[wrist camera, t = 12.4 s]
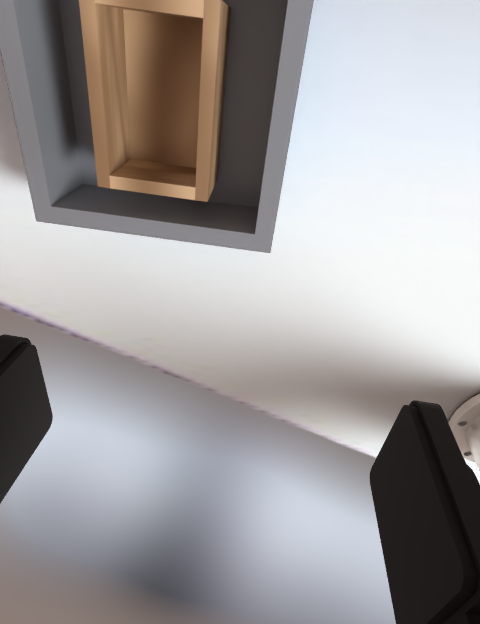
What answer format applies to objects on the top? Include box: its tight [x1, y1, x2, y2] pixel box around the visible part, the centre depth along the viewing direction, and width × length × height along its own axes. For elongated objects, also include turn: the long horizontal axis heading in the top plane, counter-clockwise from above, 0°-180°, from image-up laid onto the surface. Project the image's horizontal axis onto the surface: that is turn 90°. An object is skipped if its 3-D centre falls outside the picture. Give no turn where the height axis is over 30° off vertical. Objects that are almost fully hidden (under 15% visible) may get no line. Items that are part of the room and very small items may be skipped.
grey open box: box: [0, 0, 314, 253], centre depth 24 cm, size 16×16×6 cm
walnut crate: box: [79, 0, 231, 202], centre depth 23 cm, size 7×10×5 cm
